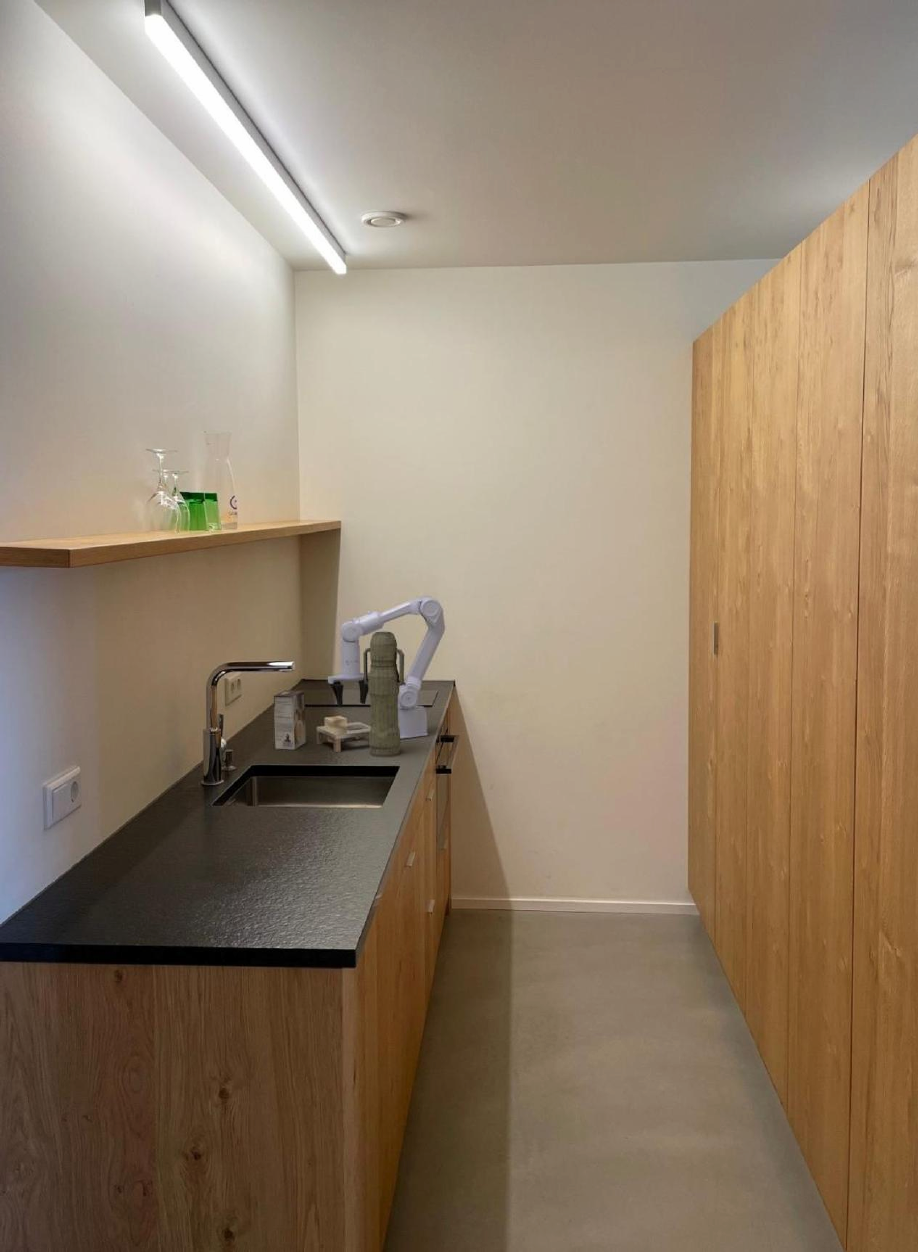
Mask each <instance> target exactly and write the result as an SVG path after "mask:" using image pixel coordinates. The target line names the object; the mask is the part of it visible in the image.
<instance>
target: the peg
mask: <svg viewBox="0 0 918 1252" xmlns="http://www.w3.org/2000/svg"><path fill="white" fill-rule="evenodd" d="M347 723H348V719H347V718H346V717H343V716H341V715H337V716H328V717H324V726H325V730H327V731H329V732H339V731H347V730H348V729H347ZM345 739H346V738H340V743H342V742H345ZM327 742H329V743H334V740H333V738H332V737H330V736H328V735H327Z"/></svg>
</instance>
